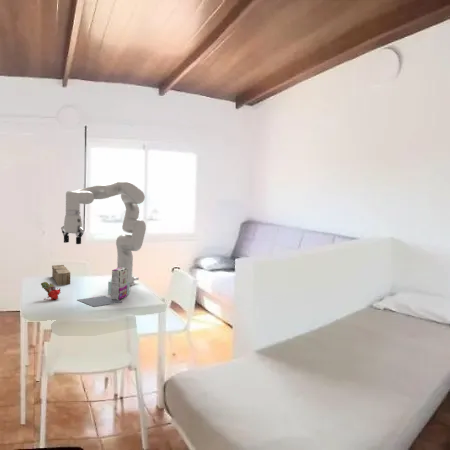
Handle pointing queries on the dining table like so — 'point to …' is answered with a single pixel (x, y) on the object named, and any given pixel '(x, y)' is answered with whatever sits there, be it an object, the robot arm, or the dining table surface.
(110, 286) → the right angle wall
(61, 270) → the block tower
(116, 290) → the candy bar box
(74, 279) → the dining table surface
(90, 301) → the mat
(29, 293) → the dining table surface
